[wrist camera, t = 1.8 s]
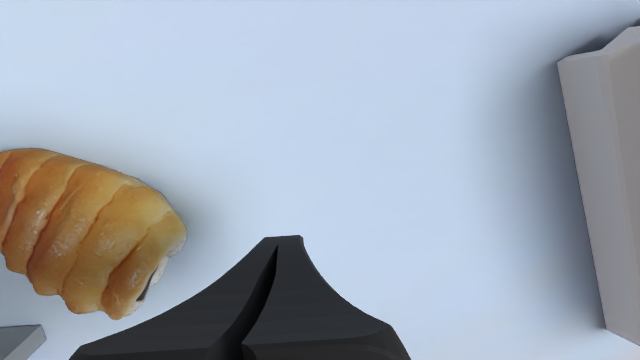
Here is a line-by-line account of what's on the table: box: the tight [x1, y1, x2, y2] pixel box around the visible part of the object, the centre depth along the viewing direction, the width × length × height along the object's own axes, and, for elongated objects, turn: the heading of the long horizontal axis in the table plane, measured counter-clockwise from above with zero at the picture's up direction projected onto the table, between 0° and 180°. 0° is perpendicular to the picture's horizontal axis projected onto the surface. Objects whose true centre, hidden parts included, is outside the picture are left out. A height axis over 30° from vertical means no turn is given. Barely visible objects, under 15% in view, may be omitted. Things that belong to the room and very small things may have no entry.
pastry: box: [0, 148, 187, 320], centre depth 15 cm, size 9×7×4 cm
